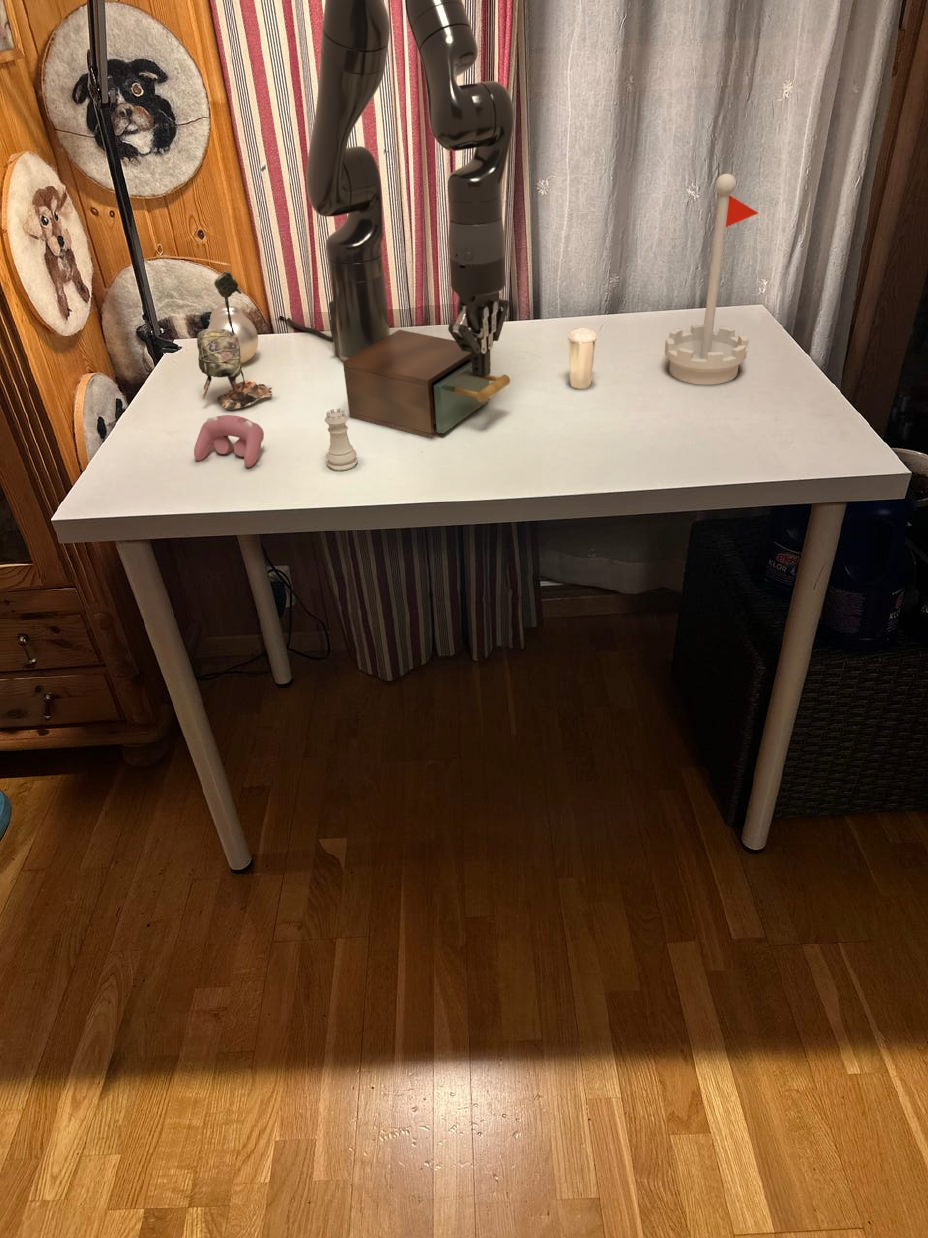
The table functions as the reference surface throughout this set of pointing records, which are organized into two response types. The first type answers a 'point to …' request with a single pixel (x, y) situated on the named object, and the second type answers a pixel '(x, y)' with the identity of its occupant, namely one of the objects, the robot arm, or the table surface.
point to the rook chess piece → (339, 442)
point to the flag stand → (711, 312)
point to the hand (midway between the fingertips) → (481, 375)
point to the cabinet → (400, 380)
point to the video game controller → (218, 434)
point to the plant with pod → (227, 356)
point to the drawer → (461, 394)
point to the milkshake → (581, 356)
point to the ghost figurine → (236, 329)
